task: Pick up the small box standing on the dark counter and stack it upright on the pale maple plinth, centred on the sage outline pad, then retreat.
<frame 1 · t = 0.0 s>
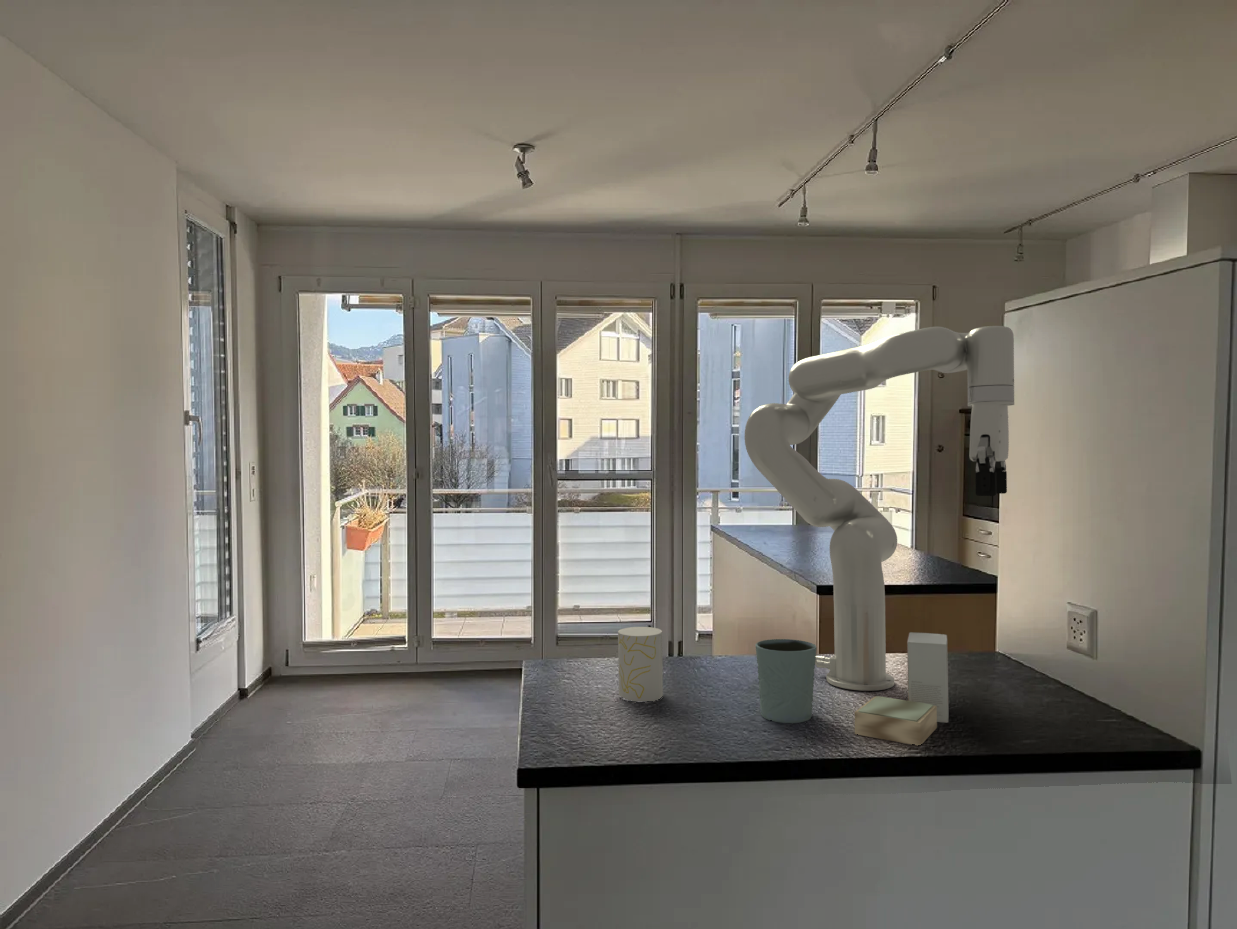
hand: (991, 494, 146), 37 cm above the table, tool pointing down, fingers open, 9 cm apart
small box: (928, 715, 140), on the table
plinth: (896, 730, 132), on the table
green tumbler: (786, 716, 141), on the table
cream patterned cylinder: (640, 697, 153), on the table
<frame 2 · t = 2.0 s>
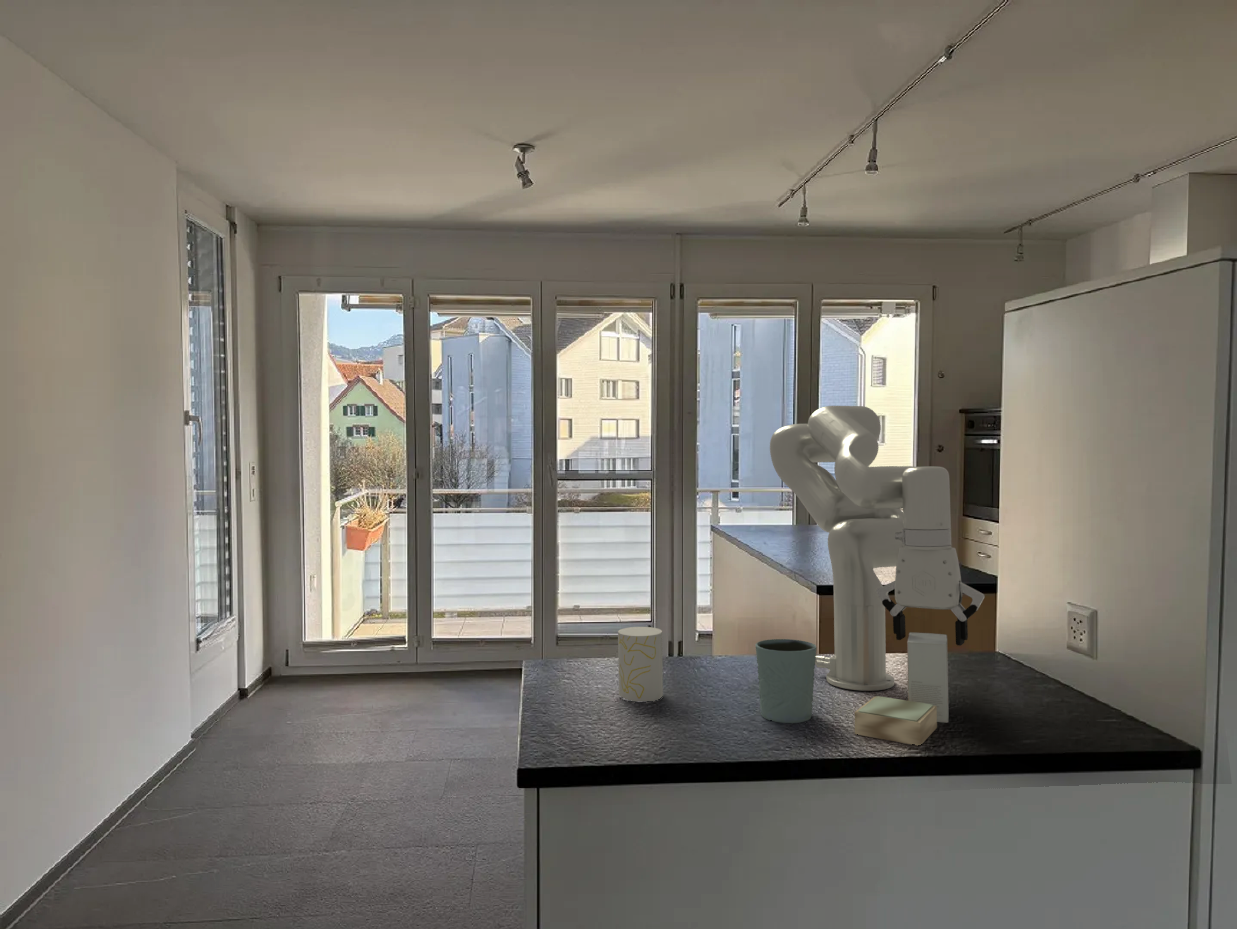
hand: (930, 641, 139), 12 cm above the table, tool pointing down, fingers open, 9 cm apart
nothing on the table moved.
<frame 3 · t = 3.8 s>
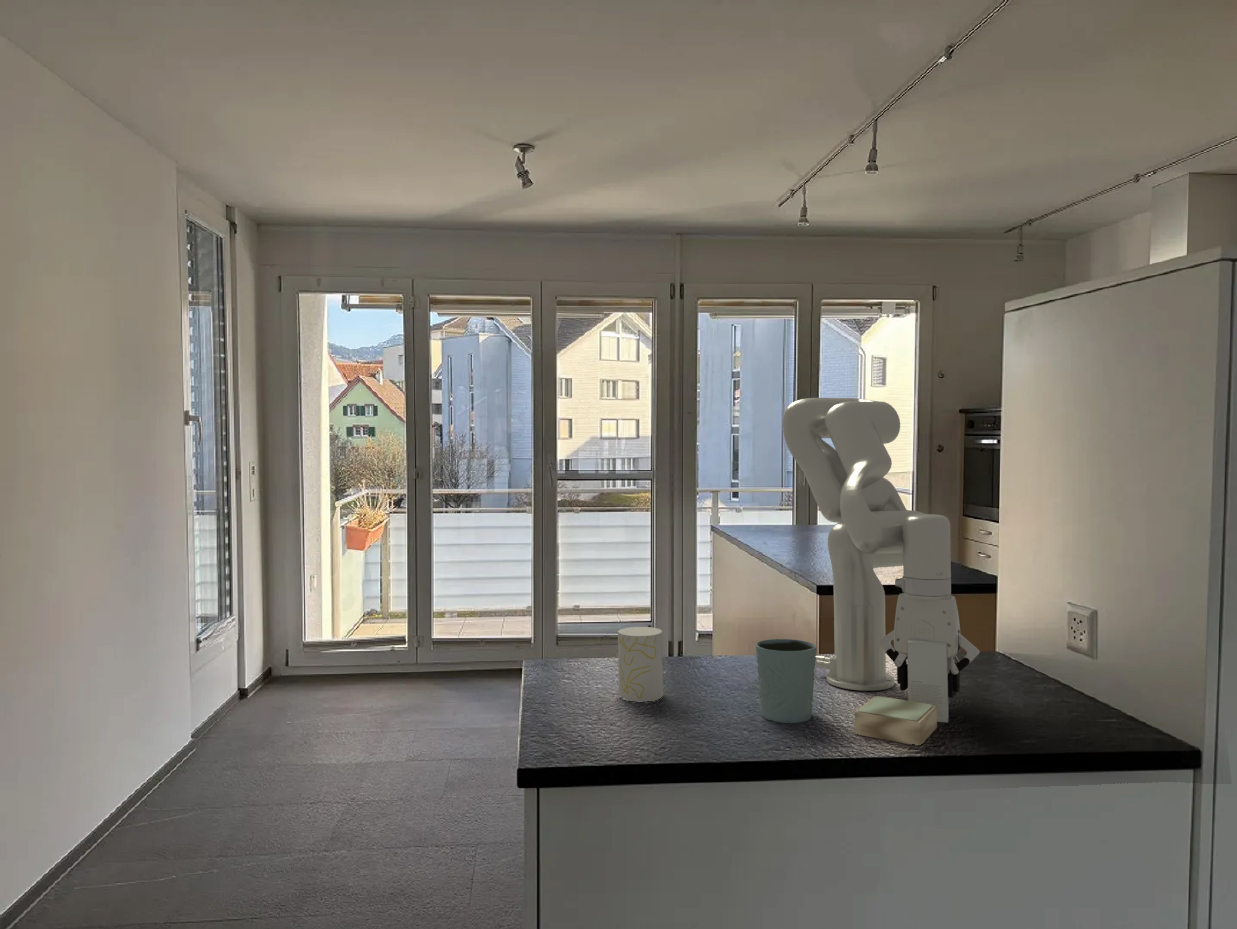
hand: (928, 691, 140), 4 cm above the table, tool pointing down, fingers closed on small box, 7 cm apart
small box: (928, 715, 140), on the table, touching gripper
everything else where it was.
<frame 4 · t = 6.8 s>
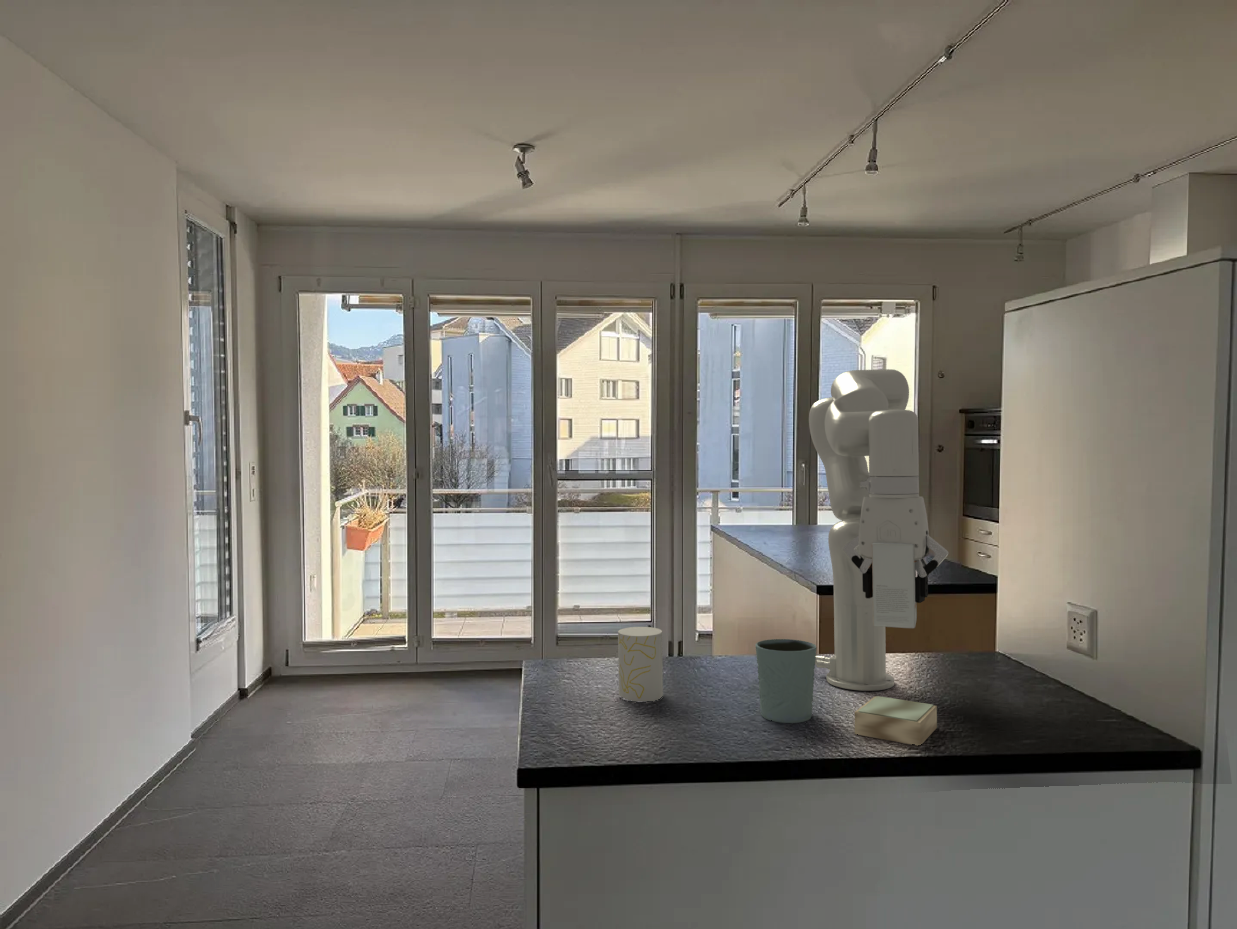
hand: (894, 598, 132), 21 cm above the table, tool pointing down, fingers closed on small box, 7 cm apart
small box: (895, 623, 132), point 17 cm above the table, touching gripper
everything else where it was.
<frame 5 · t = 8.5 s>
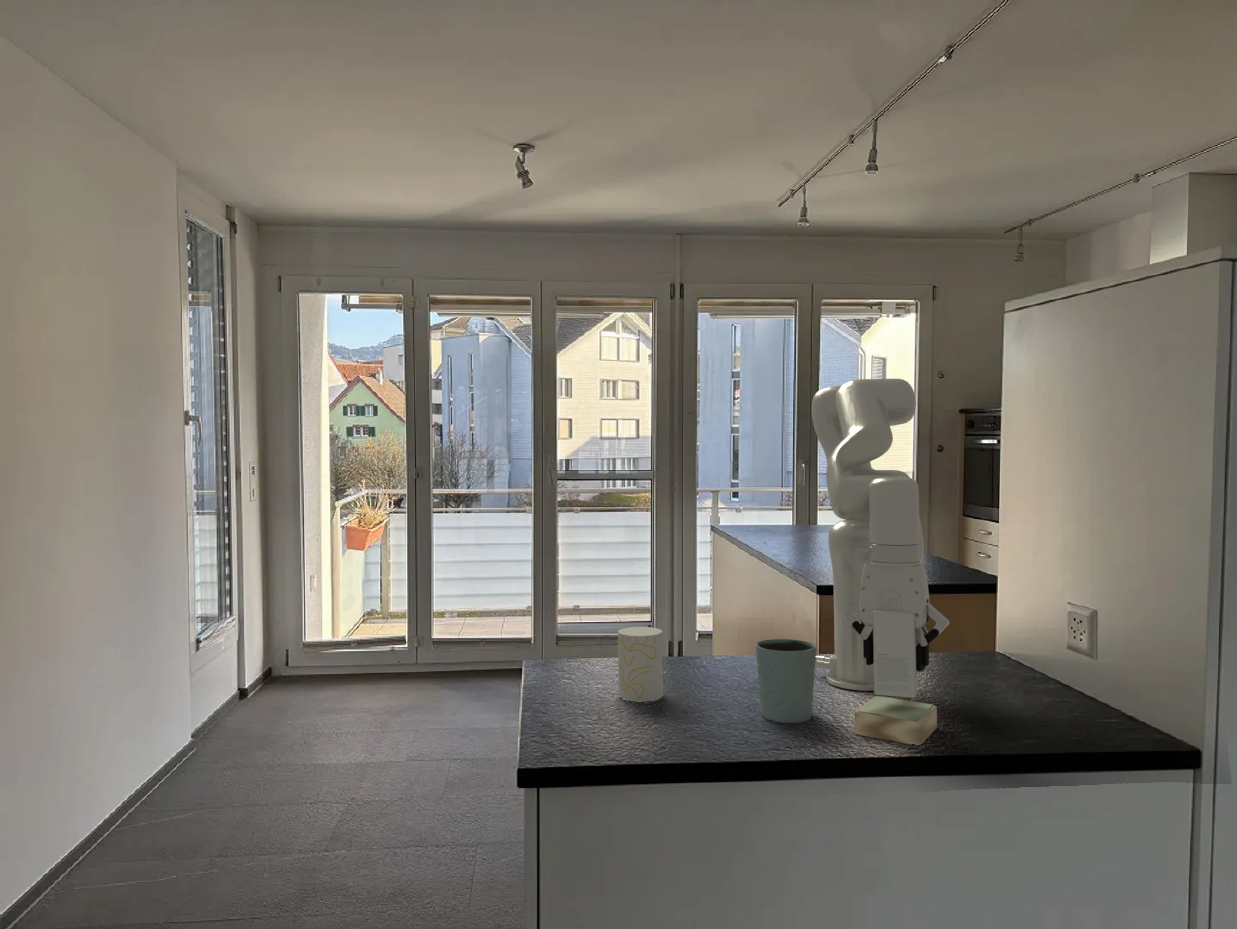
hand: (895, 665, 131), 10 cm above the table, tool pointing down, fingers closed on small box, 7 cm apart
small box: (895, 691, 131), point 6 cm above the table, touching gripper
everything else where it was.
when the fingers open (8 cm above the table, at t = 10.0 s): small box stays where it is, resting on plinth.
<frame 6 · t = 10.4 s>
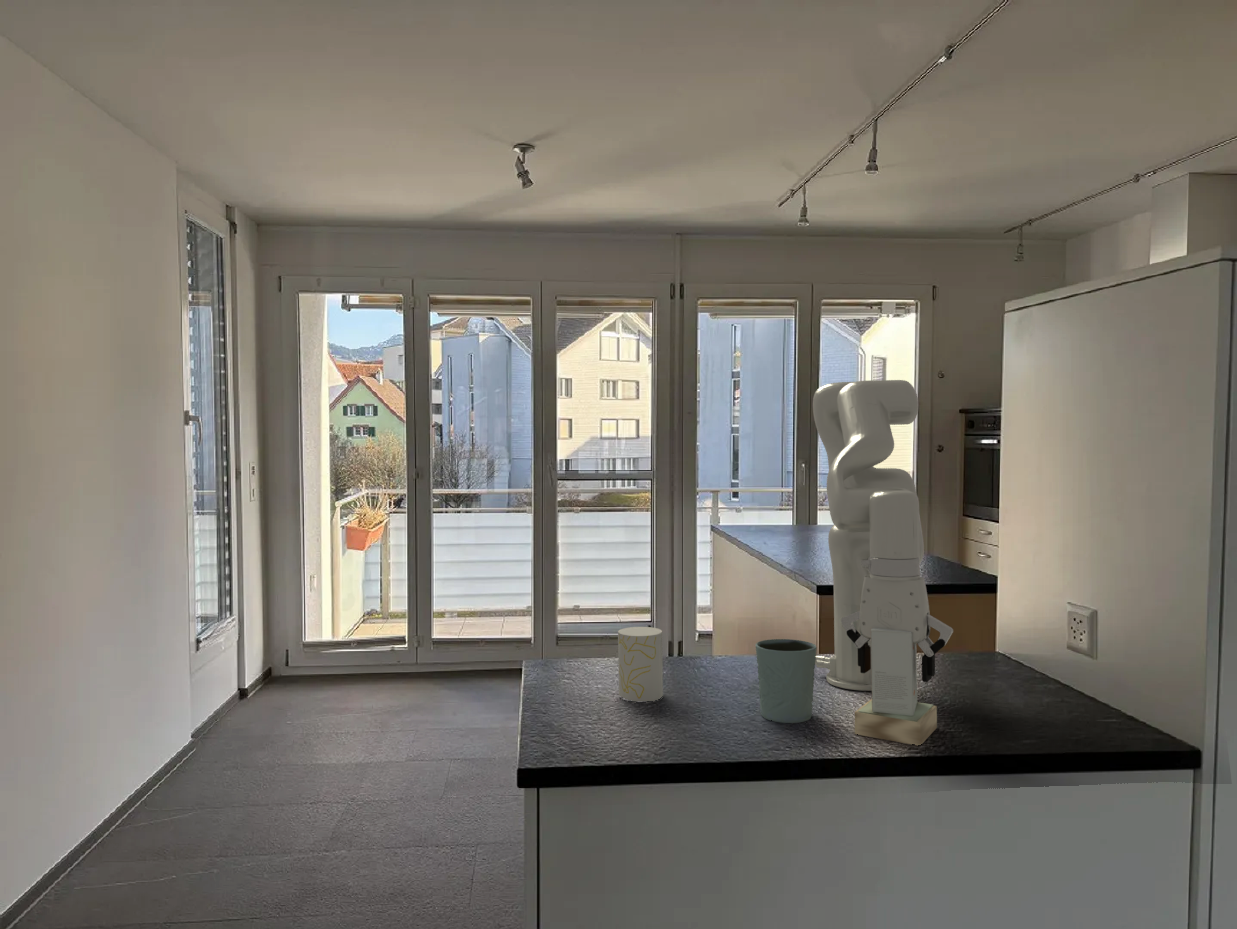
hand: (895, 675, 132), 9 cm above the table, tool pointing down, fingers open, 9 cm apart
small box: (894, 708, 132), point 3 cm above the table, touching plinth
everything else where it was.
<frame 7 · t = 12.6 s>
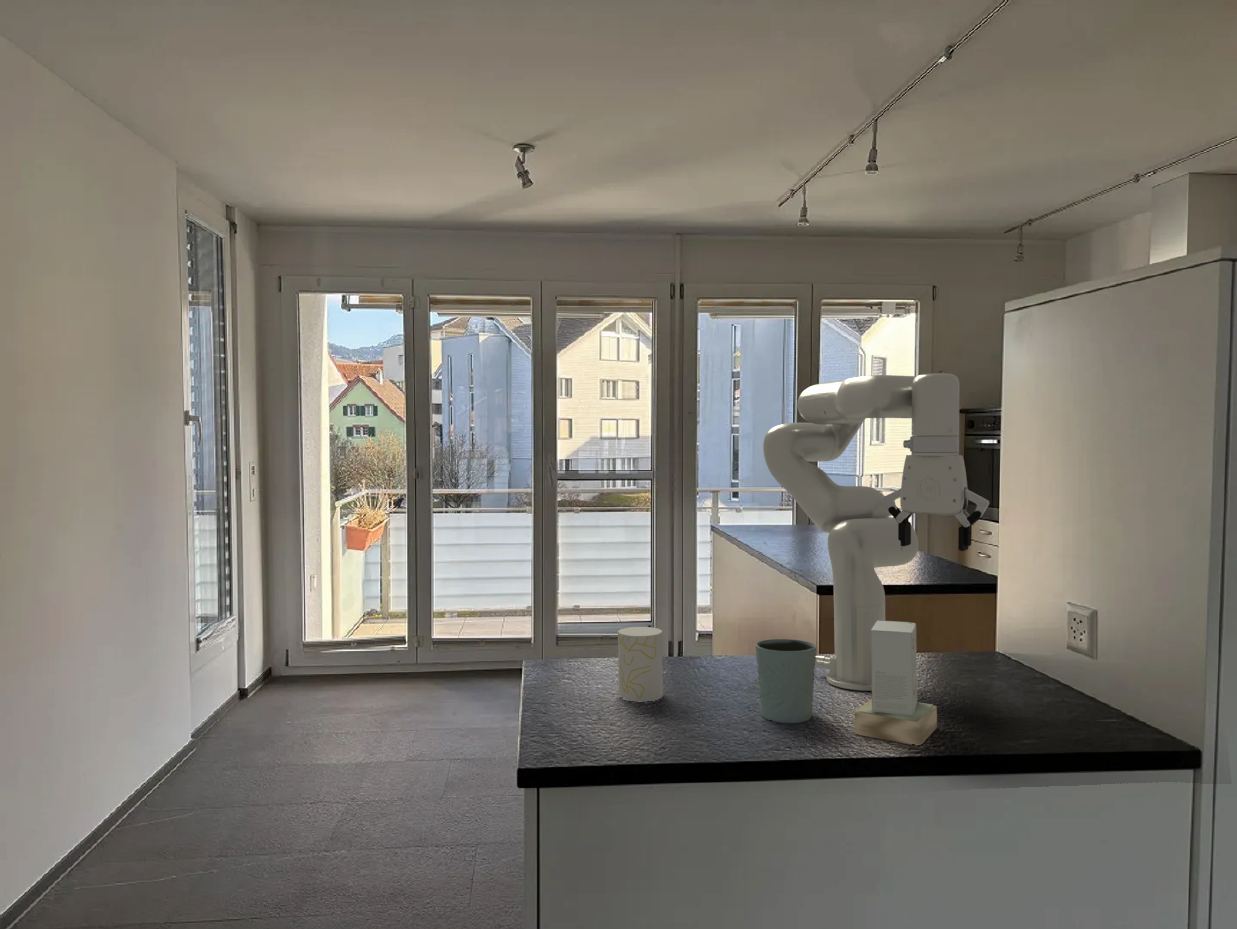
hand: (933, 547, 140), 28 cm above the table, tool pointing down, fingers open, 9 cm apart
nothing on the table moved.
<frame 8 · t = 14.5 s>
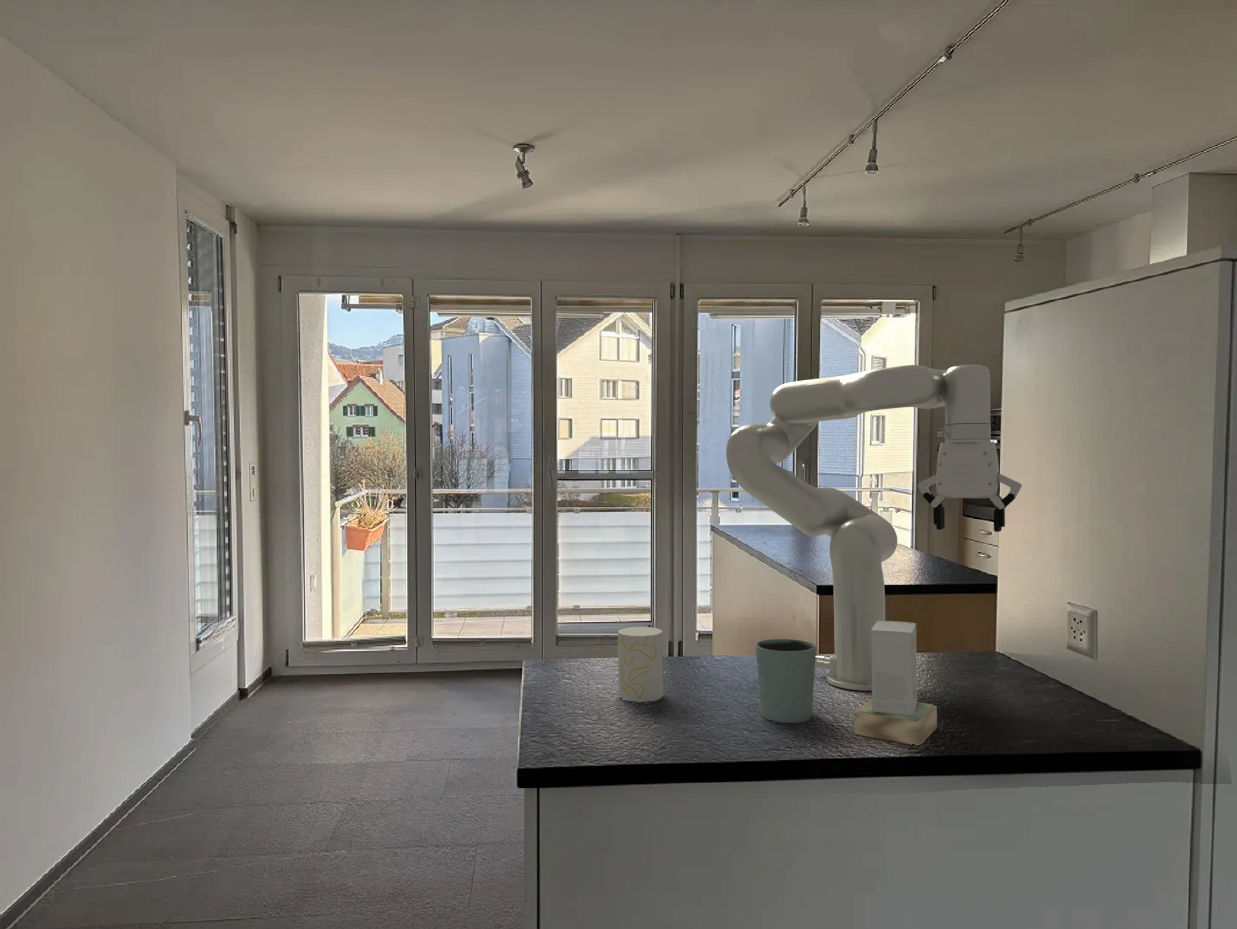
hand: (968, 530, 148), 30 cm above the table, tool pointing down, fingers open, 9 cm apart
nothing on the table moved.
at the end: small box inside the target area on the plinth (0.2 cm from its centre), point 3.5 cm above the plinth's base; small box tilted 0°; the gripper is holding nothing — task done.
